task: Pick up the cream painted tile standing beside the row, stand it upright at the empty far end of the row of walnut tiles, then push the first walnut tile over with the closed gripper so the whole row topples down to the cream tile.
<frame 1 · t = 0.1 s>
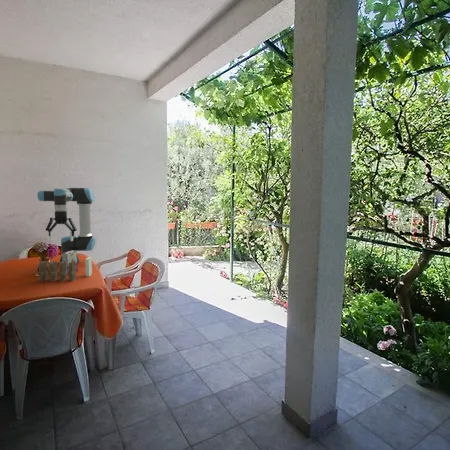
hand: (61, 240, 221), 28 cm above the table, tool pointing down, fingers open, 13 cm apart
candy bar box: (70, 272, 241), on the table
tile 1: (43, 280, 221), on the table
tile 3: (63, 279, 222), on the table
tile 2: (53, 280, 222), on the table
tile 4: (72, 279, 223), on the table
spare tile: (88, 275, 236), on the table
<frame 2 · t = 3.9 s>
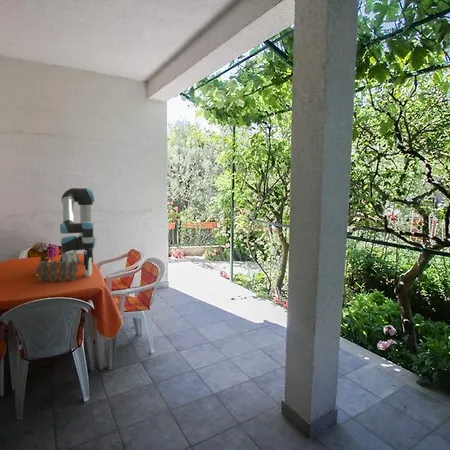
hand: (88, 272, 236), 2 cm above the table, tool pointing down, fingers closed on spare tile, 7 cm apart
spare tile: (88, 275, 236), on the table, touching gripper
everything else where it was.
when the fingers open (4 cm above the table, at t = 10.0 s): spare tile drops 1 cm, on the table.
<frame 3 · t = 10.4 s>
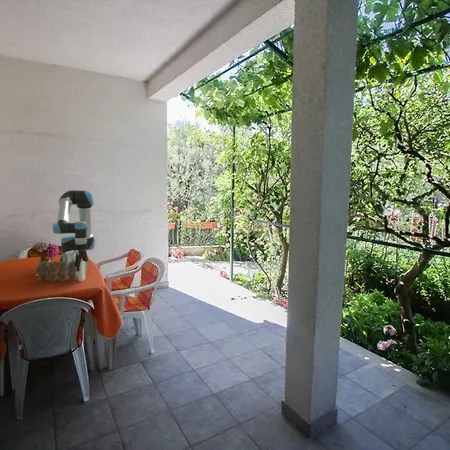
hand: (81, 272, 223), 5 cm above the table, tool pointing down, fingers open, 13 cm apart
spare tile: (82, 279, 224), on the table
everything else where it was.
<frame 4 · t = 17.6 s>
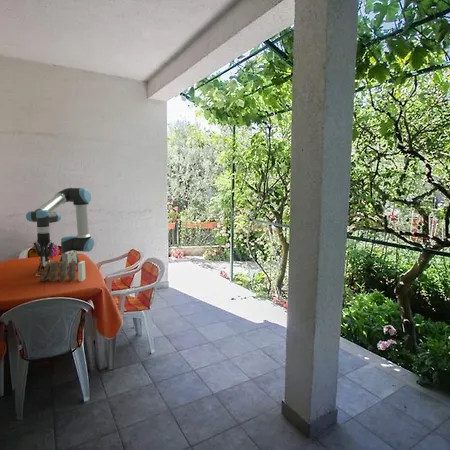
hand: (44, 265, 220), 10 cm above the table, tool pointing down, fingers closed
tile 1: (43, 279, 221), on the table, tilted 22°
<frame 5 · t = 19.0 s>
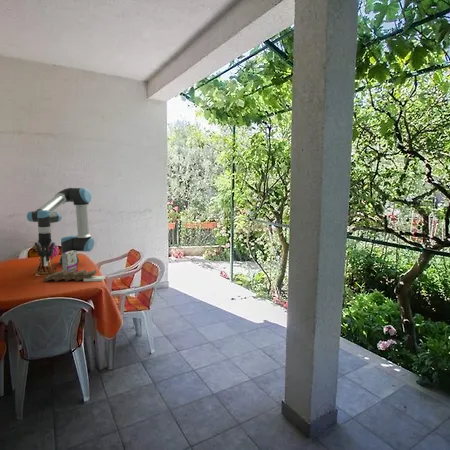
hand: (46, 265, 220), 10 cm above the table, tool pointing down, fingers closed
tile 1: (46, 278, 221), point 1 cm above the table, tilted 69°, touching tile 2
tile 3: (66, 278, 223), point 1 cm above the table, tilted 70°, touching tile 4
tile 2: (56, 278, 222), point 1 cm above the table, tilted 69°, touching tile 1
tile 4: (76, 278, 223), point 1 cm above the table, tilted 71°, touching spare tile, tile 3
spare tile: (85, 279, 224), on the table, tilted 90°, touching tile 4
everything else where it was.
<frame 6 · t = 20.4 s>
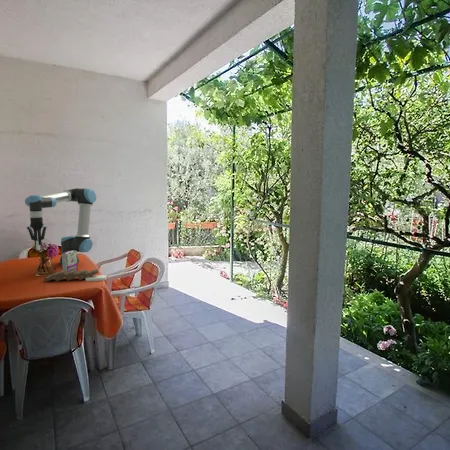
hand: (38, 249, 225), 20 cm above the table, tool pointing down, fingers closed
tile 3: (67, 278, 223), point 1 cm above the table, tilted 71°, touching tile 2, tile 4
tile 2: (56, 278, 222), point 1 cm above the table, tilted 70°, touching tile 1, tile 3
tile 4: (79, 277, 224), point 1 cm above the table, tilted 71°, touching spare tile, tile 3
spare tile: (86, 278, 225), point 1 cm above the table, tilted 90°, touching tile 4
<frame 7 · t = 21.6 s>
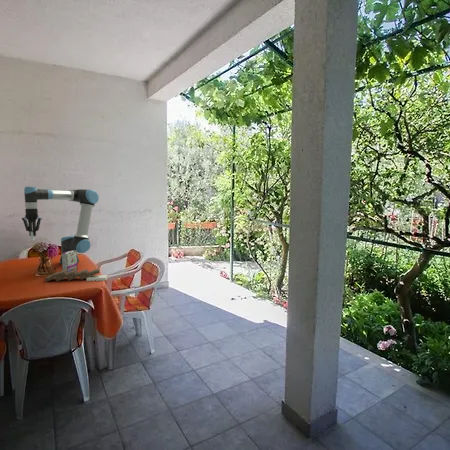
hand: (33, 240, 227), 26 cm above the table, tool pointing down, fingers closed
tile 4: (80, 277, 225), point 2 cm above the table, tilted 71°, touching tile 3
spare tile: (87, 278, 225), point 1 cm above the table, tilted 90°
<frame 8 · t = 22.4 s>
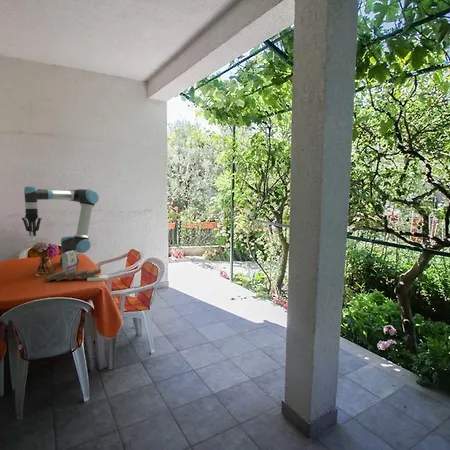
hand: (33, 240, 227), 26 cm above the table, tool pointing down, fingers closed
tile 1: (47, 278, 221), point 1 cm above the table, tilted 69°, touching tile 2
tile 3: (69, 277, 223), point 1 cm above the table, tilted 71°
tile 2: (57, 278, 222), point 1 cm above the table, tilted 70°, touching tile 1
tile 4: (82, 277, 225), point 2 cm above the table, tilted 71°
everything else where it was.
at the end: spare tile tilted 90°; tile 4 tilted 71°; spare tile inside the target area (2.2 cm from its centre), point 0.7 cm above the table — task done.
